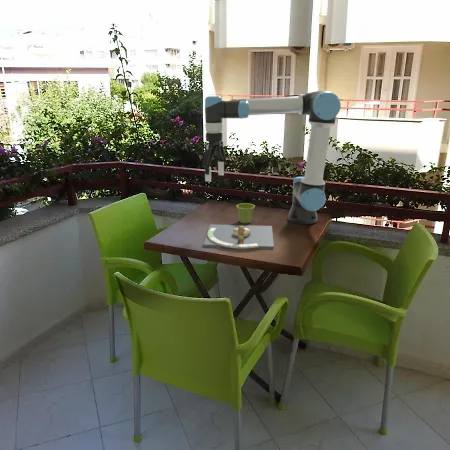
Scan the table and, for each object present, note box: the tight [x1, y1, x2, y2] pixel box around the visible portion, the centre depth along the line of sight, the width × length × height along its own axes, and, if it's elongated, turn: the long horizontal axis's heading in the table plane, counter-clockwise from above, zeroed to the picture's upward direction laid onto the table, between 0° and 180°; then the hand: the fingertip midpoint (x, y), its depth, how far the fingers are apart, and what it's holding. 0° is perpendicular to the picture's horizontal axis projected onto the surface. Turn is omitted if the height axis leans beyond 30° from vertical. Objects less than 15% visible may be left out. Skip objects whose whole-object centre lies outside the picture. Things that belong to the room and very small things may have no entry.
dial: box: [233, 226, 250, 244], centre depth 176 cm, size 17×8×7 cm, turn 175°
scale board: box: [202, 224, 275, 250], centre depth 180 cm, size 31×29×2 cm
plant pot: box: [236, 202, 256, 224], centre depth 201 cm, size 9×9×9 cm
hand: (214, 178), depth 182 cm, fingers open, 13 cm apart
